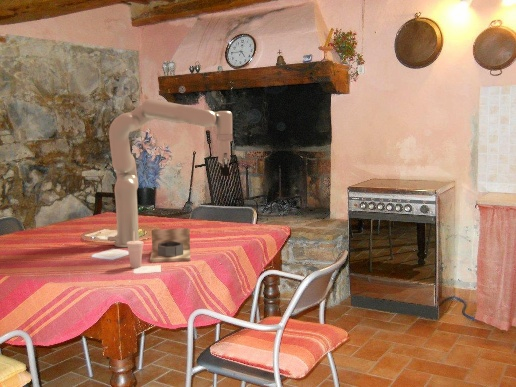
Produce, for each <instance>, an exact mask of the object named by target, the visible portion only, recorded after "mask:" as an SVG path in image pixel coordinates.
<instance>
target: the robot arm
mask: <svg viewBox="0 0 516 387" xmlns="http://www.w3.org/2000/svg"><path fill="white" fill-rule="evenodd" d="M153 120H158V121H164V122H171V123H176V124H188V125H194V126H200V127H205V128H211V127H215V134H216V135H215V136H216V137H215V138H216V139H215V140H216V142H217V143H218V145H217V148H218V149H217V150H218V151H217V152H218V153H217V157H218V158H217V162H218V163H219V164H220V175H221V176H222V177H230V165H229V164H230V162H231V142H233V140H234V139H233V113H232V112H231V111H229V110H219V111H213V110H209V109H203V108H198V107H192V106H189V105H185V104H180V103H174V102H170V101H165V100H159V99H154V98H153V99H152V98H147V99H145V100H144V101H143V102H142V103H141V104H140V105H139V106H137V107H136V108H135V109H133V110H131V111H130V112H124V113H121V114H120V115H118V116H117V117H115V118H114V120H113V121H112V122H111V124H110V127H109V132H108V138H109V148H110V154H111V156H110V157H111V163H112V167H113V169H114V171H115V174H116V182H115V184H114V197H115V211H116V213H115V214H116V232H117V234H116V235H114V236H113V235H112V236H111V235H110V236H107V241H109V242H114V244H113V246H115V247H118V248H128V246H127V242H129V241H133V231H134V233H135V241H142V240H141V239H139V233H140V231H139V213H138V212H139V211H138V210H139V209H138V188H139V178H138V171H137V163H136V159H135V157H134V155H133V154H132V152H131V145H130V144H131V143H130V140H129V139H130V137H129V135H130V133H133V132H135V131H137V130H139V129H140V128H142V127H143V126H144V125H146V124H148V123H149V122H151V121H153Z"/></svg>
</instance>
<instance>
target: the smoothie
mask: <svg viewBox="0 0 516 387" xmlns="http://www.w3.org/2000/svg"><path fill="white" fill-rule="evenodd" d="M144 245H145V244H144V241H142V240H141V241H135V233H134V231H133V241H129V242H127V246H128V247H127V251H128V257H129V264H130V268H131V269H139V268H138V267H140V268H141V267H142V259H143V258H142V257H143V247H144Z"/></svg>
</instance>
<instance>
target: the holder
mask: <svg viewBox="0 0 516 387" xmlns="http://www.w3.org/2000/svg"><path fill="white" fill-rule="evenodd" d="M190 232H191V231H190V228H189V227H188V228H159V229H158V228H157V229H155V228H153V229H151V247H152V248H151V249H152V250H151V251H152V252H151V254H150V258H149V263H161V262H162V263H167V262H169V263H170V262H186V261H187V262H190V261H191V237H190V234H191V233H190Z"/></svg>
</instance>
